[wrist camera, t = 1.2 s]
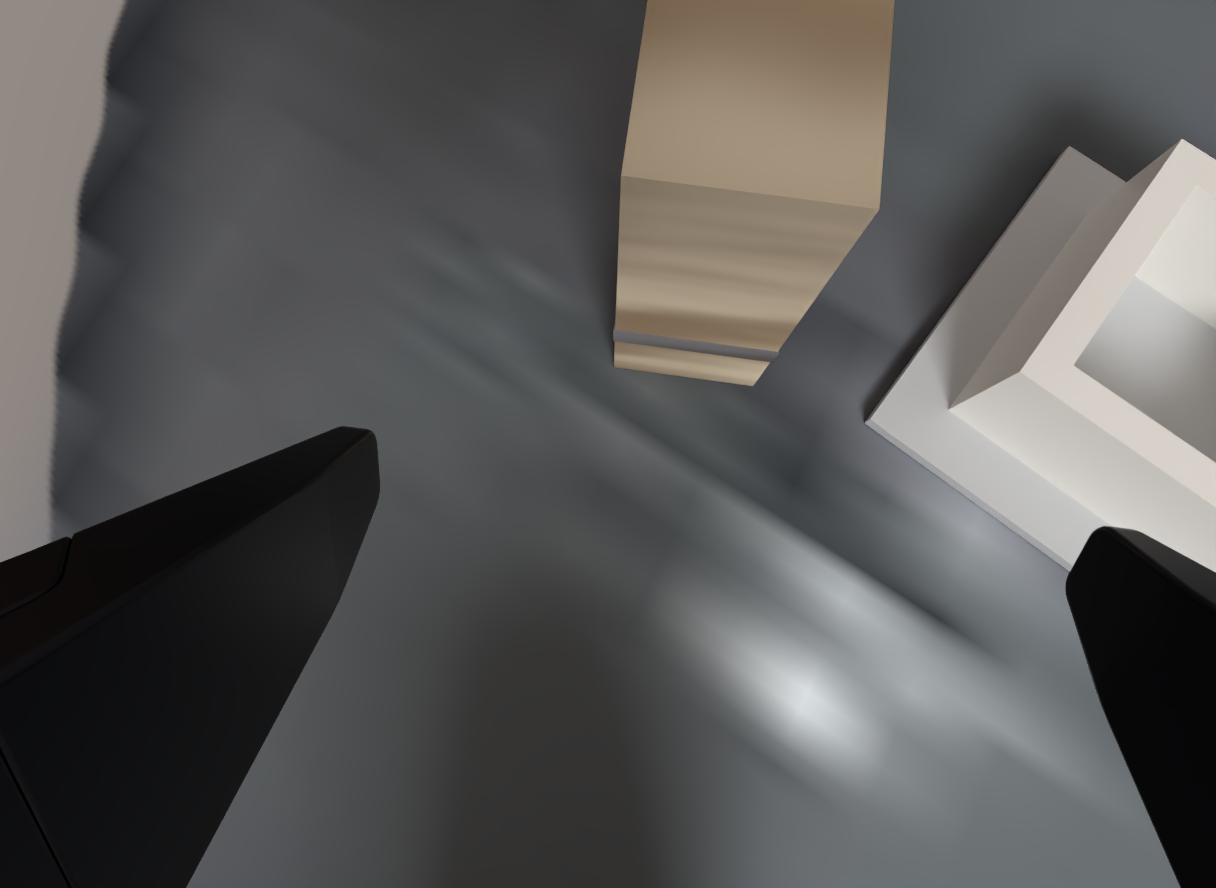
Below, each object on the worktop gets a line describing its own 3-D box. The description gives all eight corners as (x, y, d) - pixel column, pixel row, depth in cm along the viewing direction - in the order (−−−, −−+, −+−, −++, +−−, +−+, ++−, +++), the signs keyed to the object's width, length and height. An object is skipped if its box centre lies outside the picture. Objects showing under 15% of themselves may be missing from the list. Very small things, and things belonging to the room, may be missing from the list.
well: (1199, 665, 22) (1351, 684, 17) (864, 422, 23) (925, 382, 19) (1380, 361, 24) (1558, 308, 19) (1060, 154, 25) (1157, 60, 21)
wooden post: (754, 387, 23) (882, 212, 13) (612, 368, 23) (617, 177, 13) (768, 255, 24) (898, -14, 14) (631, 237, 24) (651, -44, 14)
